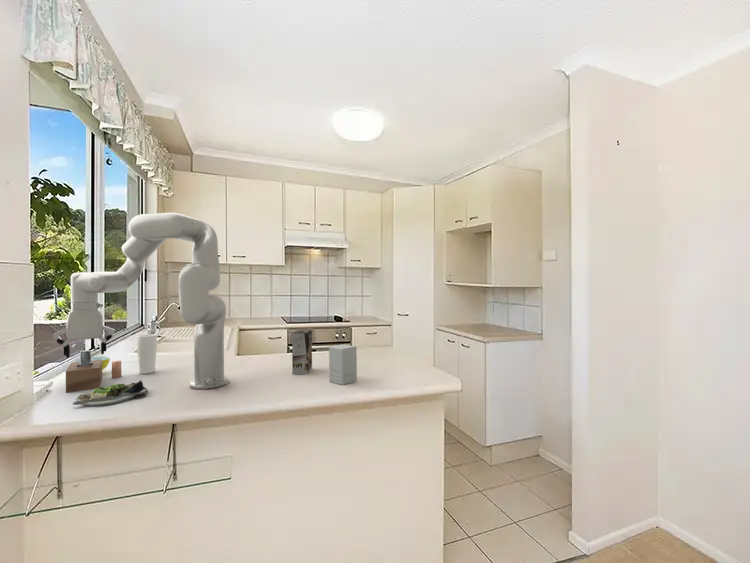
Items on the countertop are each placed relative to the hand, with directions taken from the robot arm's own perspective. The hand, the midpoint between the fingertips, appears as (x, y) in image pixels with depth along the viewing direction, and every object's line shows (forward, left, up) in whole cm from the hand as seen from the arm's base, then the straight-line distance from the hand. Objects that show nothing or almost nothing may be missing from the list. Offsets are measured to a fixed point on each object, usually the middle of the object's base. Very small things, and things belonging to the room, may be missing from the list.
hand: (85, 355), depth 128 cm
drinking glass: (+7, -19, -11) cm, 23 cm away
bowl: (+16, -1, -11) cm, 19 cm away
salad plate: (-23, -9, -11) cm, 27 cm away
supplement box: (-51, -76, -11) cm, 92 cm away
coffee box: (-29, -70, -11) cm, 76 cm away
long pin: (0, 0, -10) cm, 10 cm away
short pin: (+6, -9, -11) cm, 15 cm away
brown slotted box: (0, 0, -10) cm, 10 cm away
